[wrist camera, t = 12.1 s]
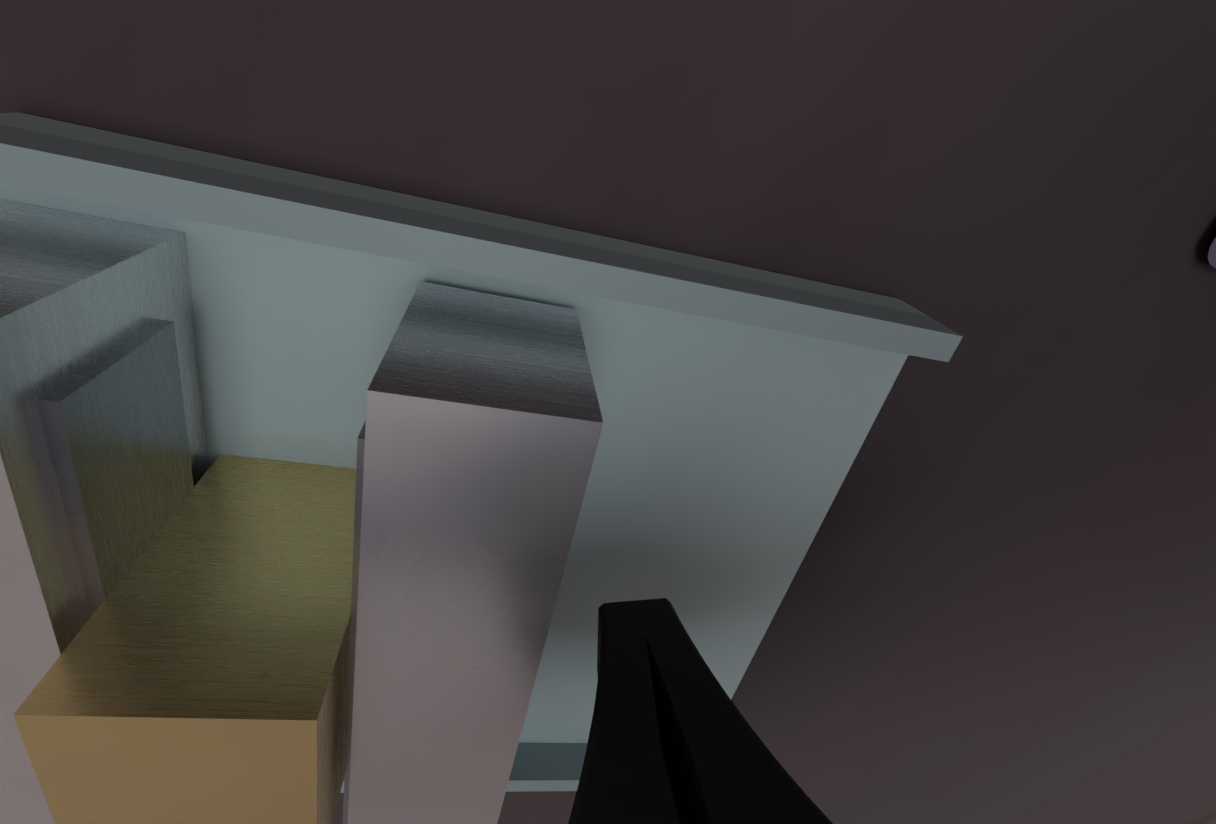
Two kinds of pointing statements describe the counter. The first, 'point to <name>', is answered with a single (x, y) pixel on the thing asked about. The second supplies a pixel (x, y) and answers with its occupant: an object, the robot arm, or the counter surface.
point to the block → (211, 663)
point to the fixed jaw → (84, 435)
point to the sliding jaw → (460, 548)
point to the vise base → (617, 353)
